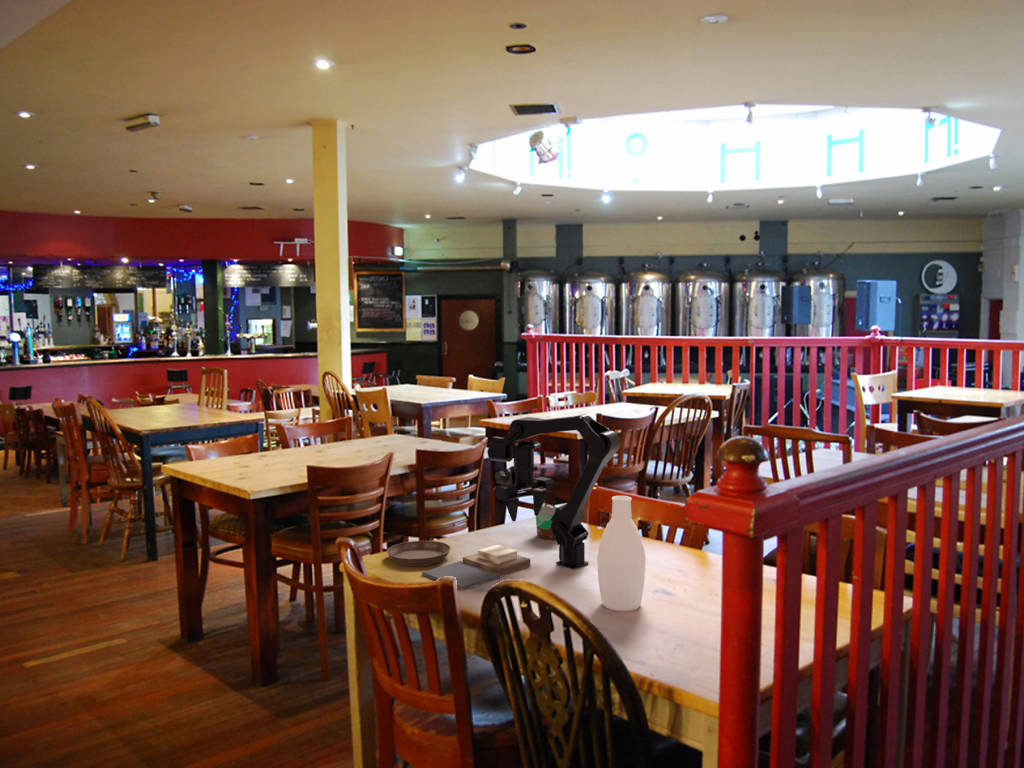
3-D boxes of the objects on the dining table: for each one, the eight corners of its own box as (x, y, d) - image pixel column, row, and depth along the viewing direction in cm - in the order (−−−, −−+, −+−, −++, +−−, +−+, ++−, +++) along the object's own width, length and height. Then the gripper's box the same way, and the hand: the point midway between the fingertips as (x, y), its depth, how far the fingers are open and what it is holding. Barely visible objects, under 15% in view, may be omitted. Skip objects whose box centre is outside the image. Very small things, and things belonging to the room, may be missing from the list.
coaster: (517, 558, 214) (517, 550, 214) (498, 563, 210) (498, 556, 209) (497, 551, 220) (497, 544, 220) (478, 557, 215) (478, 550, 215)
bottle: (613, 592, 193) (613, 490, 191) (654, 603, 186) (655, 496, 184) (588, 606, 184) (587, 498, 182) (629, 617, 177) (630, 505, 175)
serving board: (530, 566, 214) (530, 558, 214) (497, 576, 206) (497, 569, 205) (495, 555, 224) (495, 548, 224) (462, 564, 216) (462, 557, 216)
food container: (526, 533, 246) (526, 501, 245) (544, 530, 249) (543, 499, 248) (544, 543, 235) (544, 510, 234) (563, 540, 238) (562, 507, 237)
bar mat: (500, 577, 205) (500, 574, 205) (461, 589, 196) (461, 586, 196) (460, 563, 216) (460, 560, 216) (422, 574, 208) (422, 571, 207)
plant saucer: (378, 555, 225) (378, 545, 225) (436, 546, 234) (436, 536, 233) (399, 573, 210) (399, 562, 210) (460, 563, 218) (460, 552, 218)
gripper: (527, 455, 233) (529, 507, 234) (479, 464, 220) (480, 519, 221) (555, 459, 225) (556, 513, 226) (506, 469, 212) (507, 526, 213)
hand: (525, 518), depth 222 cm, fingers open, 8 cm apart
